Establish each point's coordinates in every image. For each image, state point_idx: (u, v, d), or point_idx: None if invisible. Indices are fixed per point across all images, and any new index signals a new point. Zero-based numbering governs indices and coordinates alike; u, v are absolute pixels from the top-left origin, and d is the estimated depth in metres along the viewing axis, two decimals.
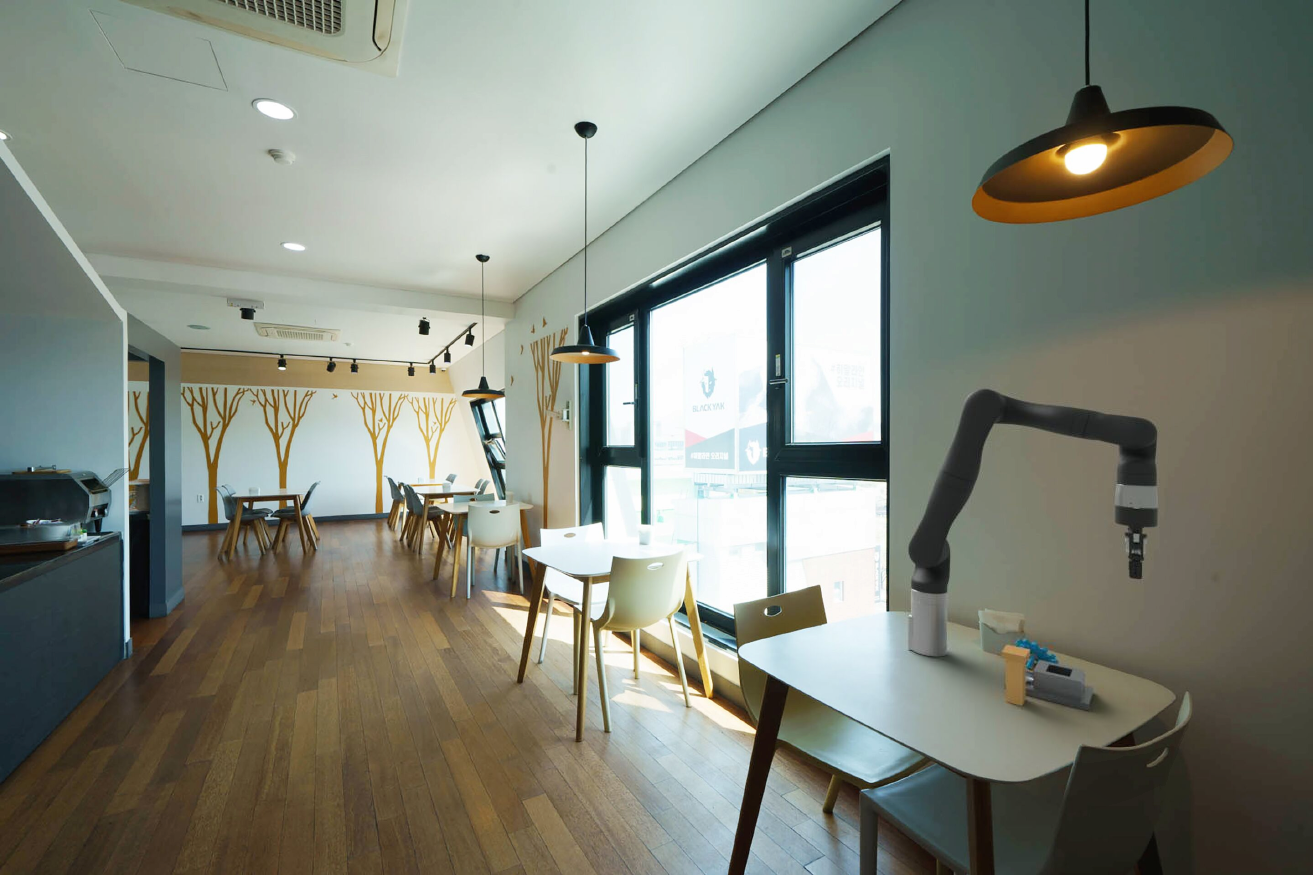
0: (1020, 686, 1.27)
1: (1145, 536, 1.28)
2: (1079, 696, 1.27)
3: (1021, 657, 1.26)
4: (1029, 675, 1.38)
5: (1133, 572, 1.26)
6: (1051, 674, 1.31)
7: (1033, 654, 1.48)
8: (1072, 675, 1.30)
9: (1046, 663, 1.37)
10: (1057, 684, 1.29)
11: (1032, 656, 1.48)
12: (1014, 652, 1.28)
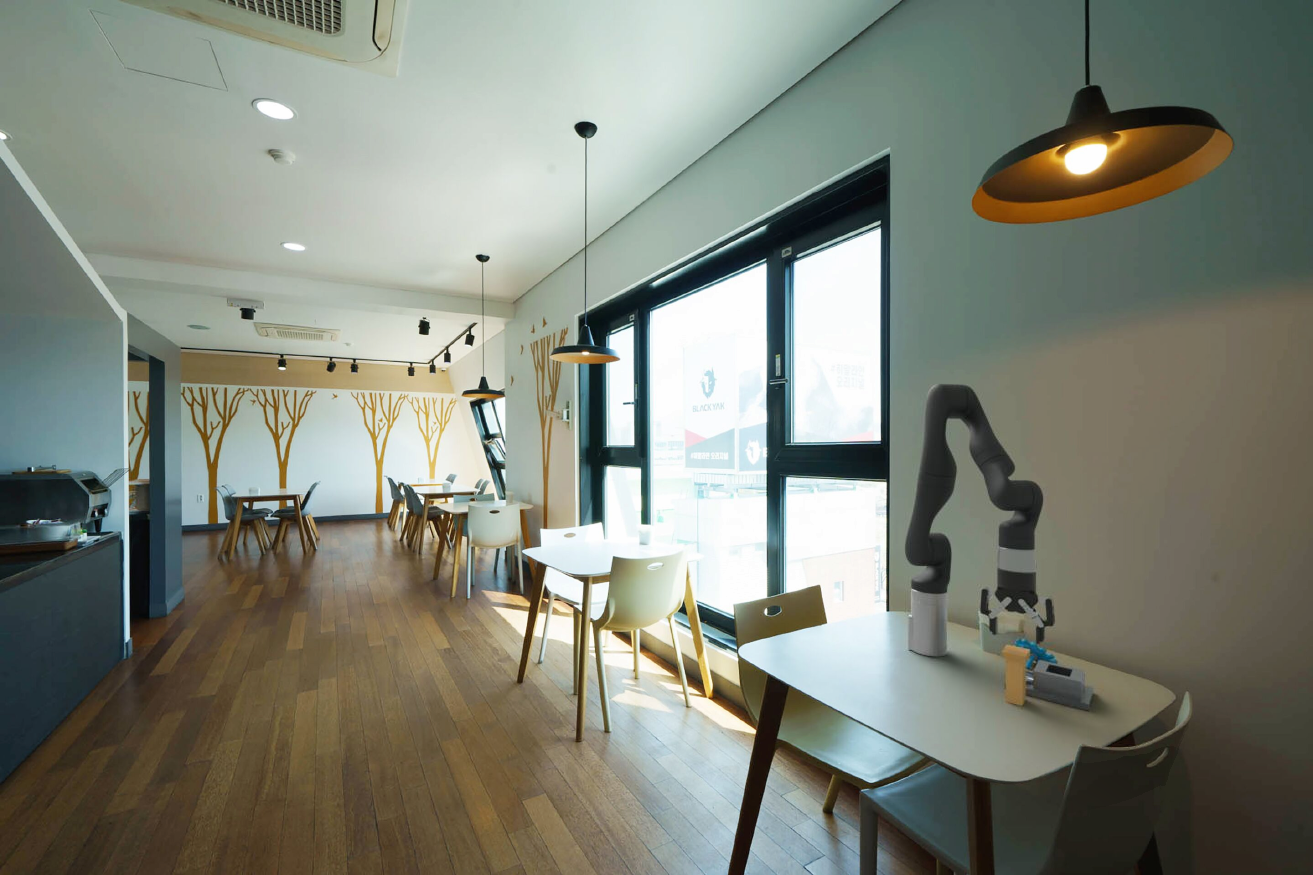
0: (1020, 686, 1.27)
1: None
2: (1079, 696, 1.27)
3: (1021, 657, 1.26)
4: (1029, 675, 1.38)
5: None
6: (1051, 674, 1.31)
7: (1032, 654, 1.48)
8: (1072, 675, 1.30)
9: (1046, 663, 1.37)
10: (1057, 684, 1.29)
11: (1031, 656, 1.48)
12: (1014, 652, 1.28)
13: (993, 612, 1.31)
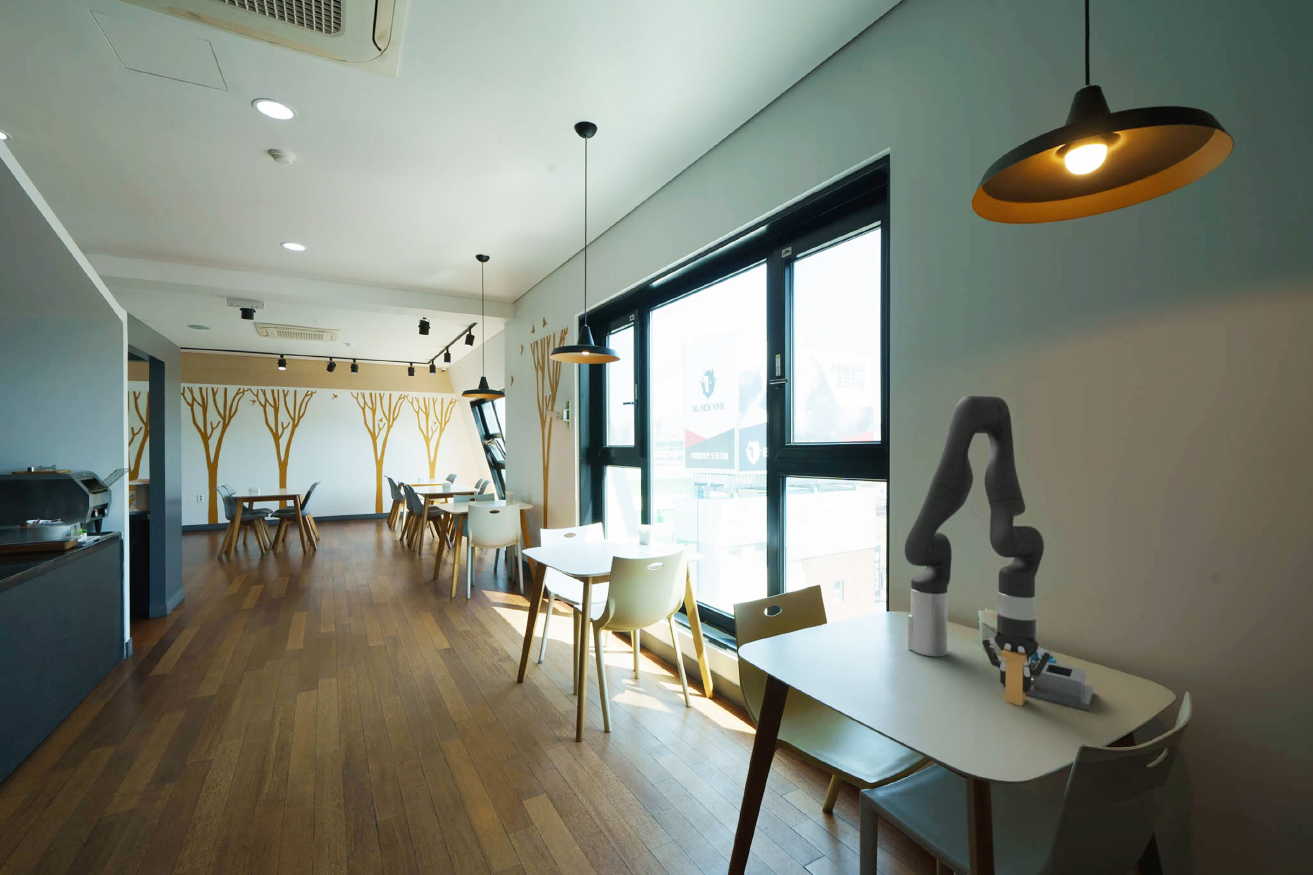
0: (1020, 686, 1.27)
1: None
2: (1079, 696, 1.27)
3: (1021, 657, 1.26)
4: None
5: None
6: (1051, 674, 1.31)
7: None
8: (1072, 675, 1.30)
9: (1046, 663, 1.37)
10: (1057, 684, 1.29)
11: (1030, 656, 1.48)
12: (1014, 652, 1.28)
13: (1002, 664, 1.30)
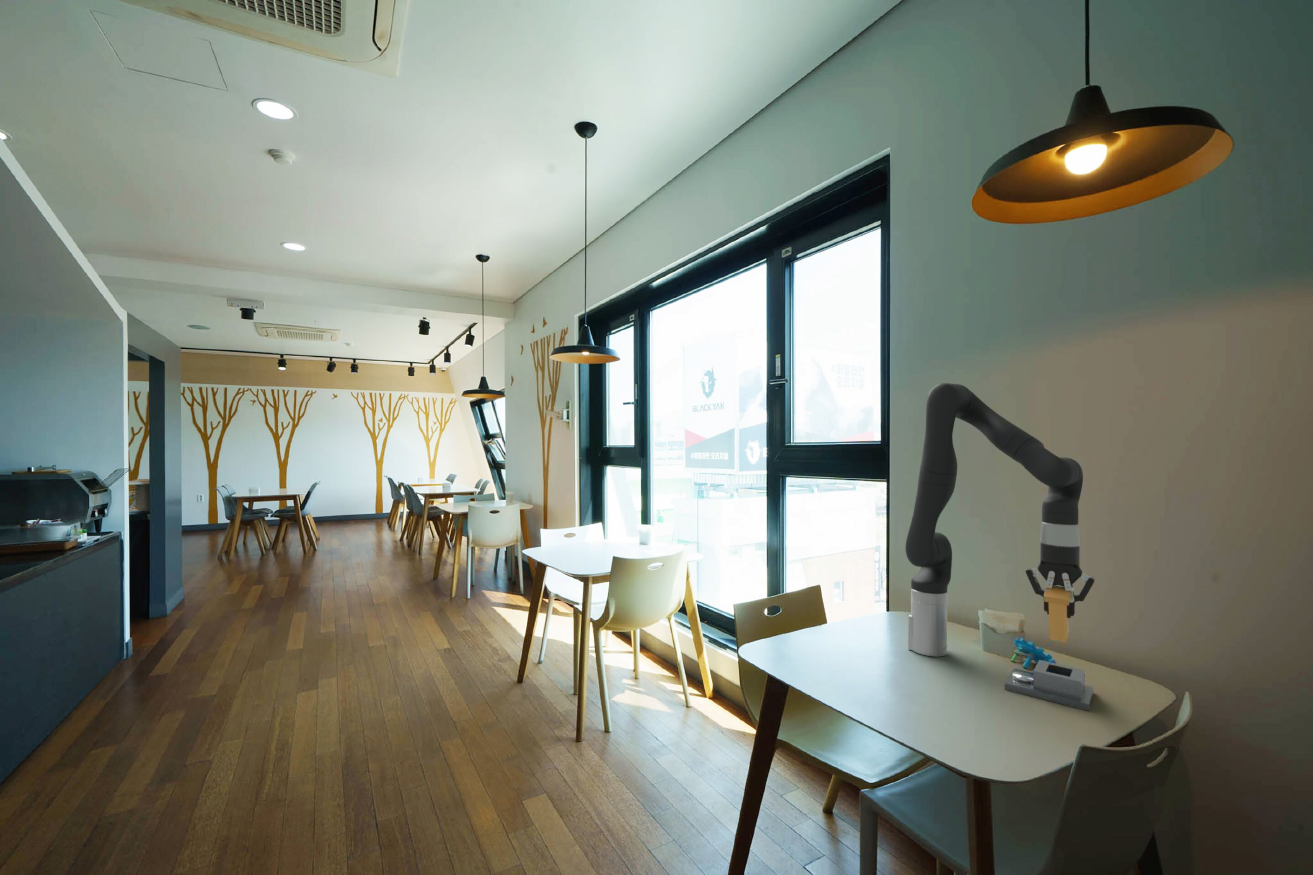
0: (1064, 625, 1.30)
1: None
2: (1079, 696, 1.27)
3: (1064, 600, 1.28)
4: (1029, 675, 1.38)
5: None
6: (1051, 674, 1.31)
7: (1030, 654, 1.48)
8: (1072, 675, 1.30)
9: (1046, 663, 1.37)
10: (1057, 684, 1.29)
11: (1029, 656, 1.48)
12: (1056, 595, 1.30)
13: None
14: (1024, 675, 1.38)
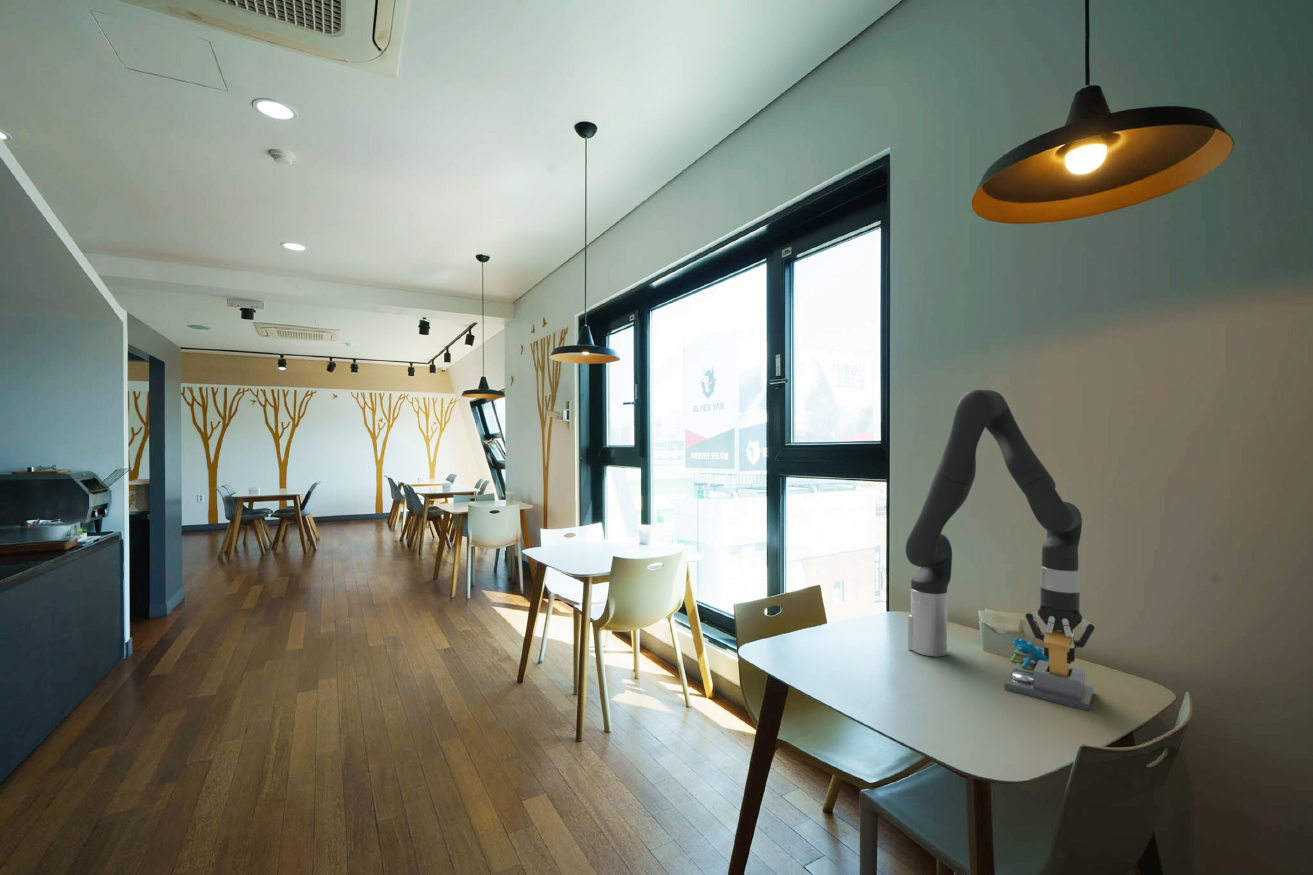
0: (1064, 671, 1.30)
1: None
2: (1079, 696, 1.27)
3: (1065, 647, 1.28)
4: (1029, 675, 1.38)
5: None
6: (1051, 674, 1.31)
7: (1030, 654, 1.48)
8: (1072, 675, 1.30)
9: (1046, 663, 1.37)
10: (1057, 684, 1.29)
11: (1028, 656, 1.48)
12: (1057, 641, 1.30)
13: None
14: (1024, 675, 1.38)
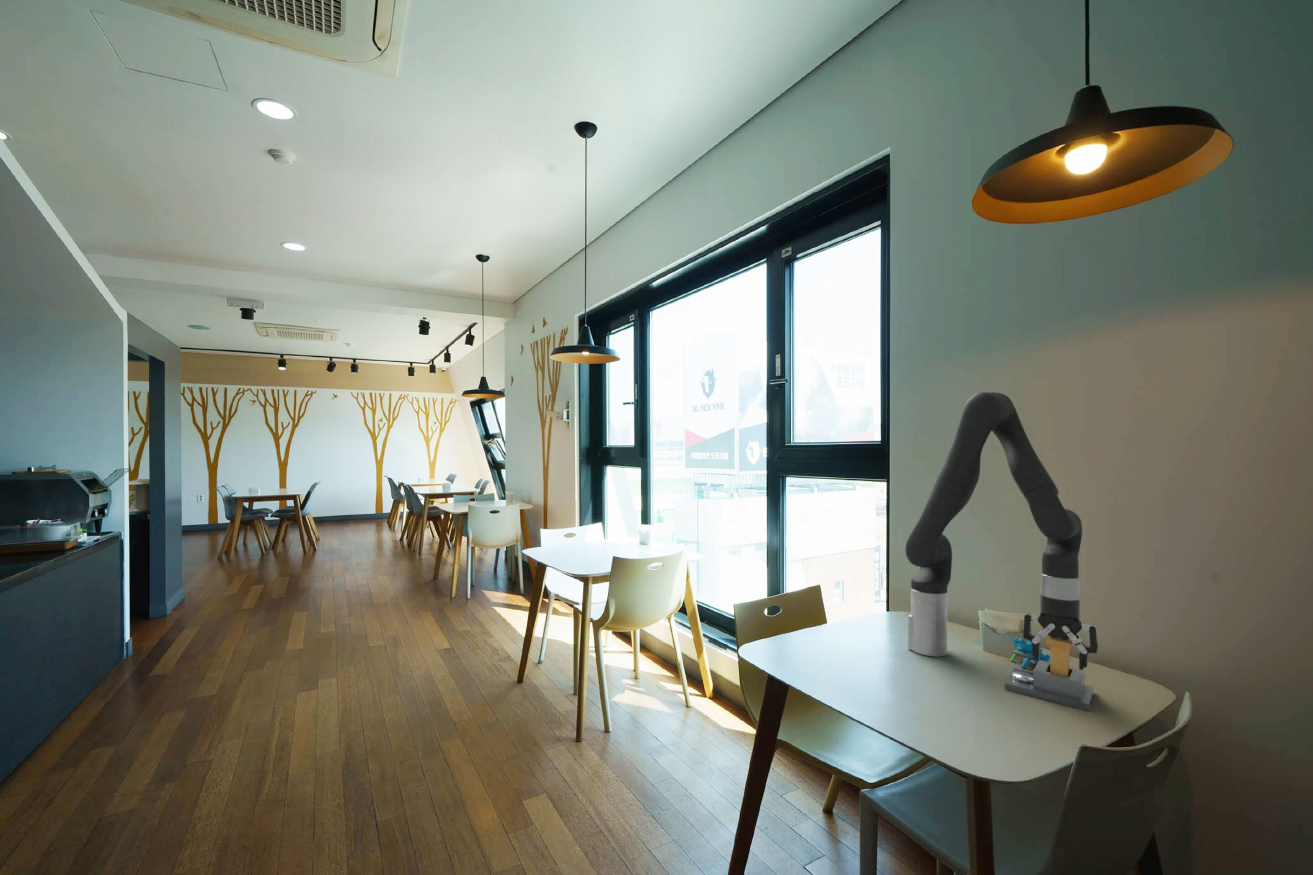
0: (1065, 672, 1.31)
1: None
2: (1079, 696, 1.27)
3: (1066, 644, 1.30)
4: (1029, 675, 1.38)
5: None
6: (1051, 674, 1.31)
7: (1029, 654, 1.49)
8: (1072, 675, 1.30)
9: (1046, 663, 1.37)
10: (1057, 684, 1.29)
11: (1028, 656, 1.48)
12: (1059, 640, 1.32)
13: (1036, 638, 1.35)
14: (1024, 675, 1.38)
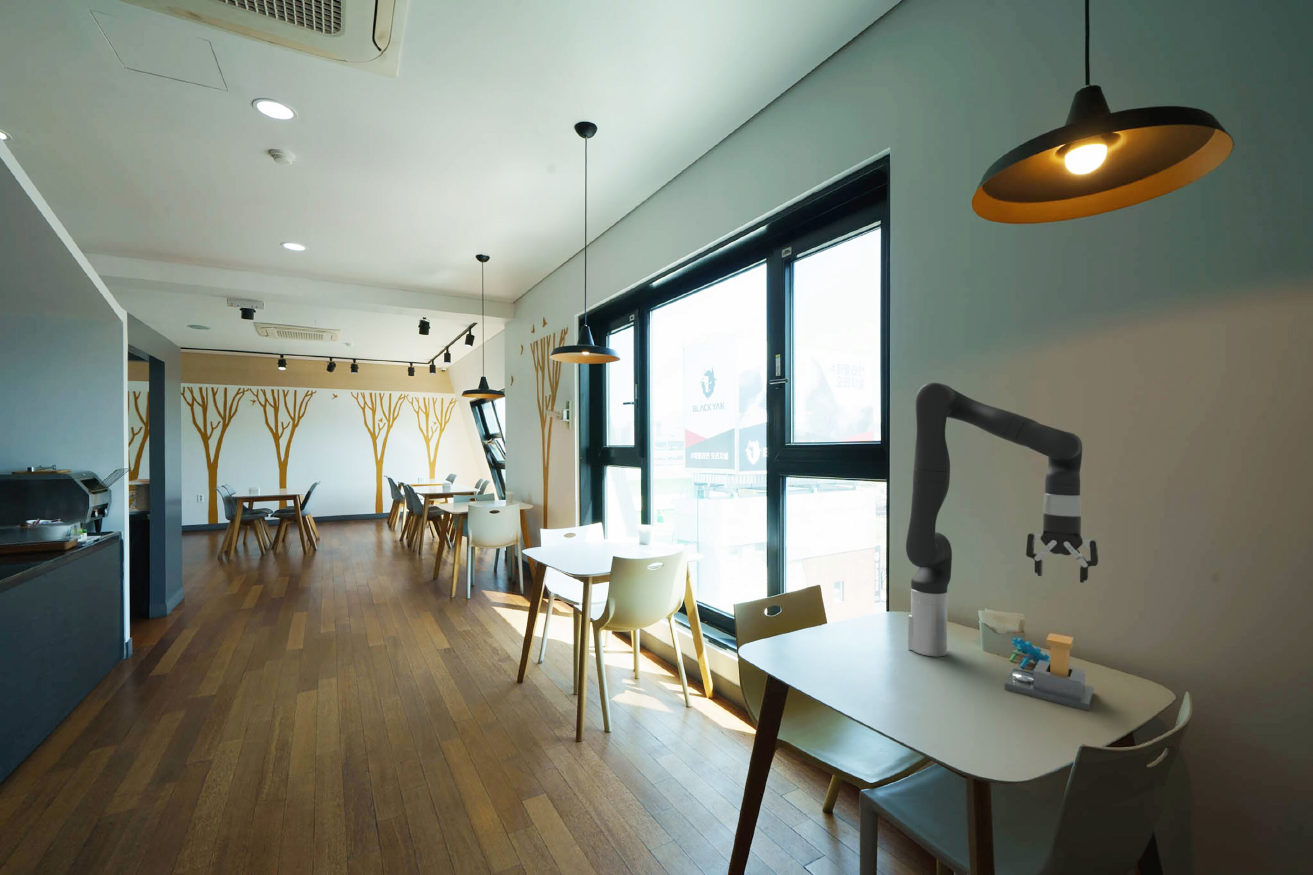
0: (1065, 673, 1.31)
1: None
2: (1079, 696, 1.27)
3: (1066, 645, 1.30)
4: (1029, 675, 1.38)
5: None
6: (1051, 674, 1.31)
7: (1028, 654, 1.49)
8: (1072, 675, 1.30)
9: (1046, 663, 1.37)
10: (1057, 684, 1.29)
11: (1027, 656, 1.48)
12: (1059, 640, 1.32)
13: (1039, 555, 1.41)
14: (1024, 675, 1.38)
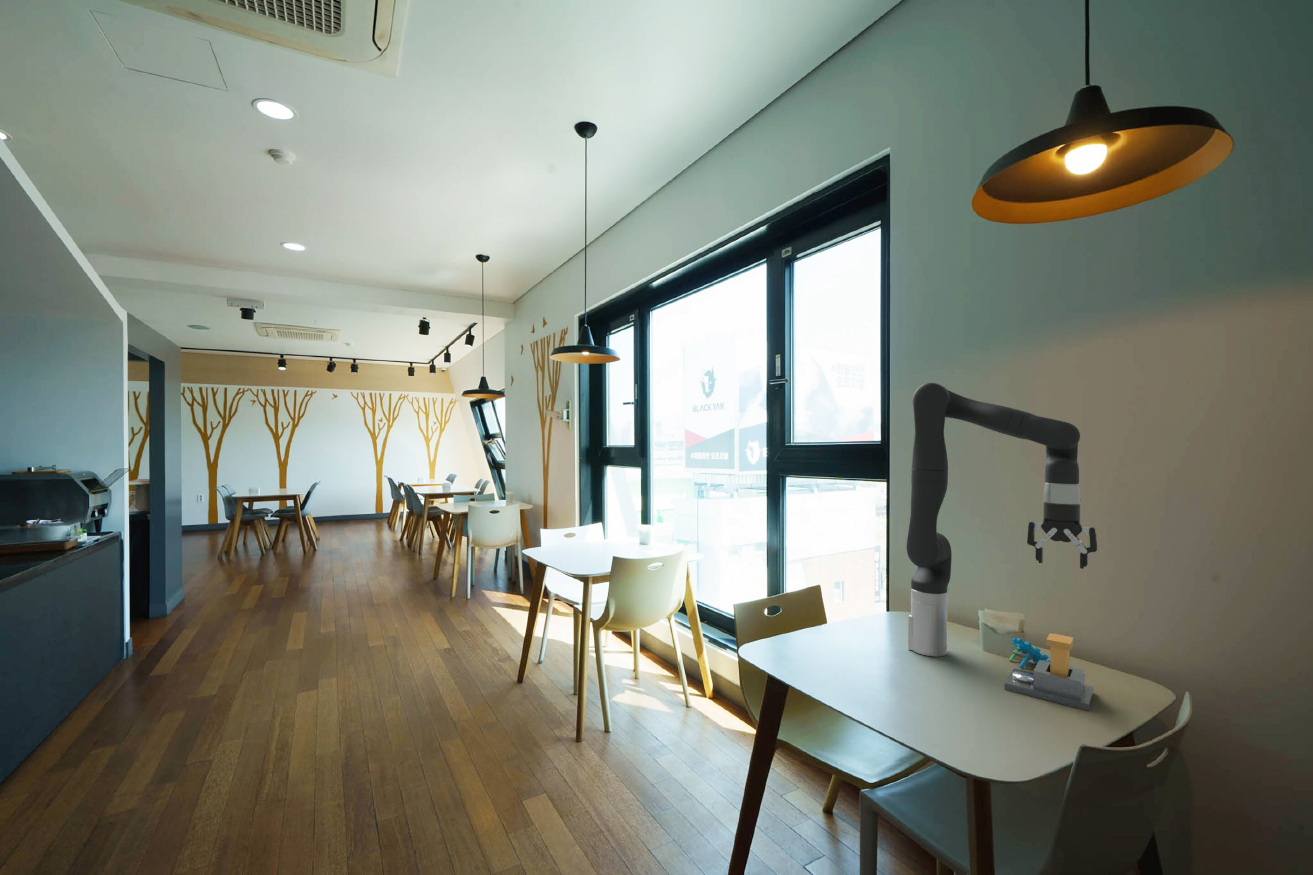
0: (1065, 673, 1.31)
1: None
2: (1079, 696, 1.27)
3: (1066, 645, 1.30)
4: (1029, 675, 1.38)
5: None
6: (1051, 674, 1.31)
7: (1027, 654, 1.49)
8: (1072, 675, 1.30)
9: (1046, 663, 1.37)
10: (1057, 684, 1.29)
11: (1026, 656, 1.49)
12: (1059, 640, 1.32)
13: (1039, 542, 1.45)
14: (1024, 675, 1.38)
